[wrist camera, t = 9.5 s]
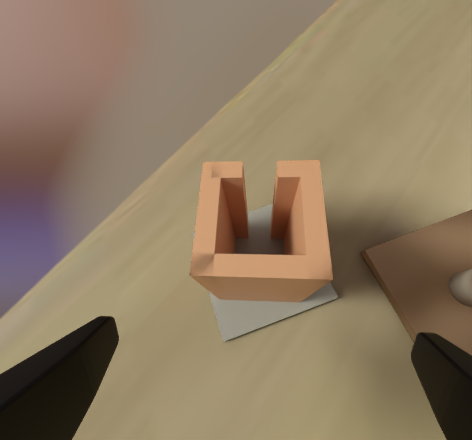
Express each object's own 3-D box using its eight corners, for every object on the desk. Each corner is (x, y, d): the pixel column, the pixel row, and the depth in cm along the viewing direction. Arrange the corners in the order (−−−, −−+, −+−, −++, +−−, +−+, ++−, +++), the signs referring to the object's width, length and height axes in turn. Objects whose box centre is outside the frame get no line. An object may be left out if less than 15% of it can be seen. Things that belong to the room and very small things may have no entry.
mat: (336, 298, 19) (338, 297, 18) (224, 341, 18) (223, 341, 18) (287, 201, 22) (288, 198, 22) (192, 234, 22) (191, 232, 21)
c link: (299, 302, 18) (332, 279, 10) (219, 299, 19) (189, 275, 11) (295, 227, 21) (319, 160, 13) (224, 226, 21) (203, 162, 13)
